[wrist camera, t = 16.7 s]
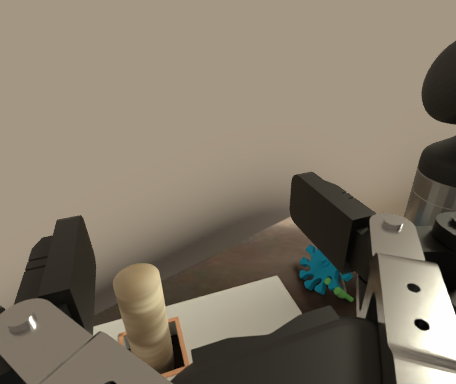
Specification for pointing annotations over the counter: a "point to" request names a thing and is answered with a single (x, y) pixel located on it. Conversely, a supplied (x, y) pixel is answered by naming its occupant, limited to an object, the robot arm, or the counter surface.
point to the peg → (145, 315)
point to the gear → (324, 275)
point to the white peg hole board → (221, 317)
